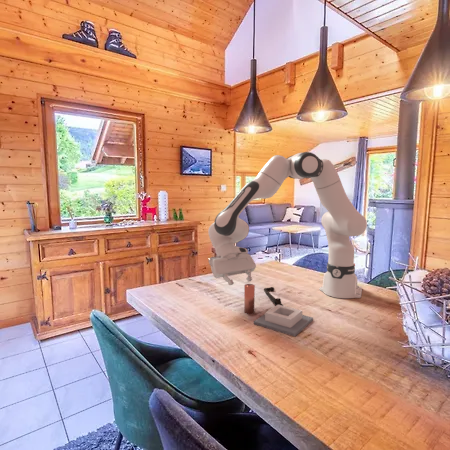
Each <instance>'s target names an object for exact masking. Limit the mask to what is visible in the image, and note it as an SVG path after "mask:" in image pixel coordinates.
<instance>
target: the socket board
mask: <svg viewBox="0 0 450 450" xmlns="http://www.w3.org/2000/svg"><path fill="white" fill-rule="evenodd" d="M313 321H314V316H313V317H312V316H308V315H303V310H302V309H298V308H294V307H290V306H286V305H283V306H282V305H276V306H275V305H274V306H273V307H272V308H270V309H268V310H267V311H266V312H264V314H263V315H261V316H260V317H258V318H257V319H255V320H253V324H254V325H256V326H259V327H263V328H266V329H269V330H272V331H276V332H279V333H282V334H285V335H289V336H293V337H296V336H297V335H299V333H300V332H302V331H303V330H304V329H305V328H307V326H309V325H310V324H311V323H312V322H313Z"/></svg>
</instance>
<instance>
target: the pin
mask: <svg viewBox="0 0 450 450" xmlns="http://www.w3.org/2000/svg"><path fill="white" fill-rule="evenodd" d="M255 286H256V285H255V284H253V283H245V284H244V289H243V290H244V293H243V294H244V295H243V296H244V298H243V299H244V300H243V301H244V304H243V306H244V307H243V308H244V311H243V312H244V314H246V315H254V314H255V300H256V299H255V295H256V294H255V293H256V292H255V290H256V289H255Z"/></svg>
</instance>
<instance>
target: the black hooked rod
mask: <svg viewBox="0 0 450 450" xmlns="http://www.w3.org/2000/svg"><path fill="white" fill-rule="evenodd" d="M263 291H264V292H265V294H266V295H267V297H268V299H269V300H270V301H271V303H273V305H274V307H275V306H276V305H282V306H284V304H283V303H282V301H281V300H282V299H281V298H276V297H275V296H273V295H272V294H271V293H270V292H275V288H274V286H270V287H265V288H263Z"/></svg>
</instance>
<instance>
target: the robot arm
mask: <svg viewBox="0 0 450 450" xmlns="http://www.w3.org/2000/svg"><path fill="white" fill-rule="evenodd" d="M287 178H290V179H298V180H302V179H310V180H311V181H312V183H313V185H314V188H315V191H316V194H317V196H318V198H319V202H320V204H321V205H322V206H323V207H324V208H325V210H327V211H325V212H324V213H323V214H322V216H321V219H320V220H321V221H320V222H321V226H322V227H323V229H324V231H325V235H326V240H327V245H328V247H327V248H328V258H327V259H328V261H327V263H326V272H324V273H323V280H322V286H320V287H319V291H320V292H323V293H324V294H325V295H326V296H329V297H332V298H336V299H337V298H338V299H354V298H355V299H361V298H362V292H363V287H362V286H360V285H358V276H357V275H356V271H355V270H356V263H354V262H355V247H354V245H353V243H352V241H351V239H350V237H358V236H361V235H363V234H364V233H365V231H366V230H367V227H368V222H367V219H366V217H365V216H364V215H362V213H360V212H359V211H358V210H357V208H355V206H354V205H353V203H352V202H351V200H350V199H349V196H348V195H347V194H346V191H345V188H344V186H343V183H342V180H341V178H340V176H339V174H338V171H337V169H336V168H335V166H334V164H333V162H332V161H331V160H330V159H326V158H324V159H320V158H319V156H317V155H316V154H315V153H313V152H310V151H305V152H298V153H296V154H293V155H291V156H288V157H285V156H283V155H279V154H277V155H276V154H275V155H273V156H272V157H270V159H268V161H267V162H266V163H265V164H264V165H263V166H262V168H261V170H260V171H259V172H258V174H257V175H256V176H255V177H254V179H252V180H251V181H249V182H247V183H246V184H245V185H244V186H243V187H242V188H241V189H240V191H239V192H238V193H237V194H236V195H235V197H234V198H233V199H232V200H231V201H230V202H229V203H228V205H227V206H226V207H225V208H224V209H222V210H221V211H220V212H219V213H218V214H217V215H216V216H215V218H214V222H213V223H211V224H210V225H209V227H208V229H207V230H208V233H207V234H208V237H209V240H210V242H211V245H212V247H213V248H214V249H215V254H216V256H210V258H208V263H209V266H210V269H211V273H212V275H213V277H214V278H215V279H220V278H222V279H223V280H224V281H225V282H227V284H228V286H233V285H234V280H233V279H231V278H230V277H231V276H236V275H241V274H245V275H246V276H247V277H246V280H247V282H252V281H253V278H252V272H254V270H256V268H257V264H256V262H255V260H254V259H253V257H252V256H251V254H249V253H248V252H249V250H248V249H247V248H245V247H240V246H236V245H235V244H238V243H240V242H242V241H243V240H244V239H246V238H247V237H248V236H249V233H250V227H249V224H248V222H246V221H245V220H243V219H242V218H240V217H239V216H240V215H241V213H242V212H243V211H244V210H245V208H247V206H248V205H249V204H250V203H251V202H252V201H253V200H256V199H261V200H262V199H264V200H265V199H270V198H272V197H274V195H275V194H277V192H278V191H279V189H280V187H281V186H282V185H283V183H284V181H285V180H286V179H287Z"/></svg>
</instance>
